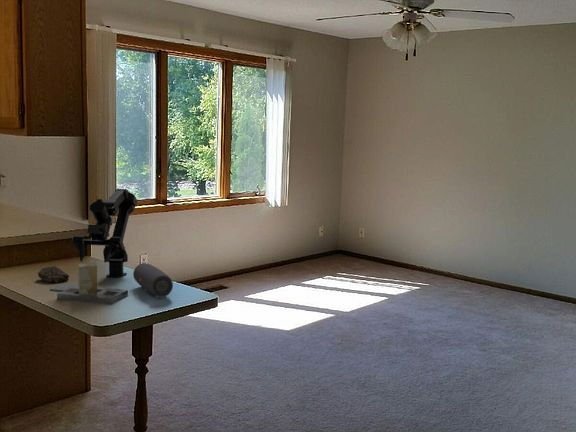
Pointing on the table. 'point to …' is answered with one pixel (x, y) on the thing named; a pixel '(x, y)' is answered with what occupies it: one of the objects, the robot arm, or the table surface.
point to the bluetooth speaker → (153, 280)
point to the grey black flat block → (100, 297)
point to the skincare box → (87, 278)
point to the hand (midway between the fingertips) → (92, 261)
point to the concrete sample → (53, 274)
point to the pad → (63, 287)
